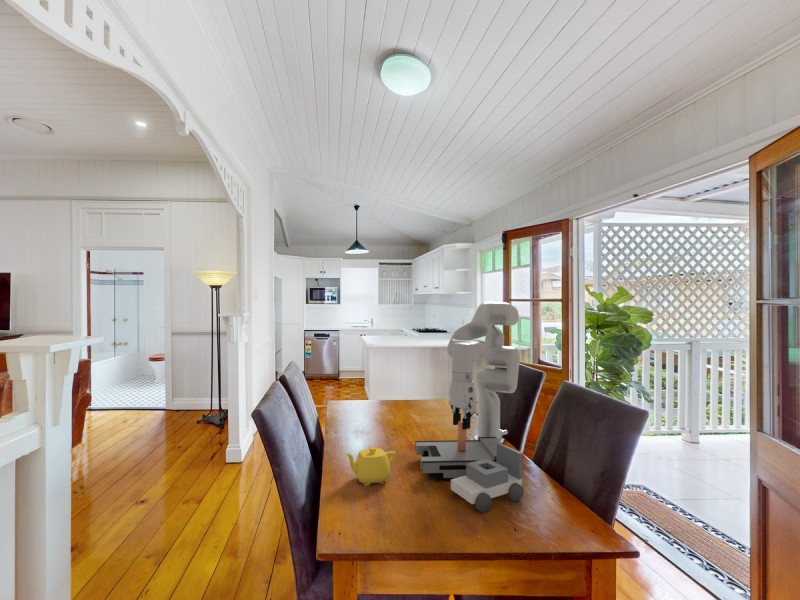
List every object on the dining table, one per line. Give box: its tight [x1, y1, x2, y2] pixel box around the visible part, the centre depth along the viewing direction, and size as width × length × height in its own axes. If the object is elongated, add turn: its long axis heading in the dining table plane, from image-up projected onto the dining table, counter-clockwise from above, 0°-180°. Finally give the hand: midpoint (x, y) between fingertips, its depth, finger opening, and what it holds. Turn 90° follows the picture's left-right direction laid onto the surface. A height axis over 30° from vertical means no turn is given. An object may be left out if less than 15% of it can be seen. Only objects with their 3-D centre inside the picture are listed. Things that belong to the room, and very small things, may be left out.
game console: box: [414, 437, 503, 482], centre depth 137 cm, size 21×32×8 cm, turn 95°
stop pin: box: [457, 420, 467, 452], centre depth 137 cm, size 3×3×10 cm
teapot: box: [344, 446, 397, 487], centre depth 127 cm, size 18×11×11 cm, turn 110°
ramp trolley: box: [449, 443, 525, 514], centre depth 117 cm, size 20×13×14 cm, turn 119°
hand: (461, 426), depth 137 cm, fingers open, 4 cm apart
